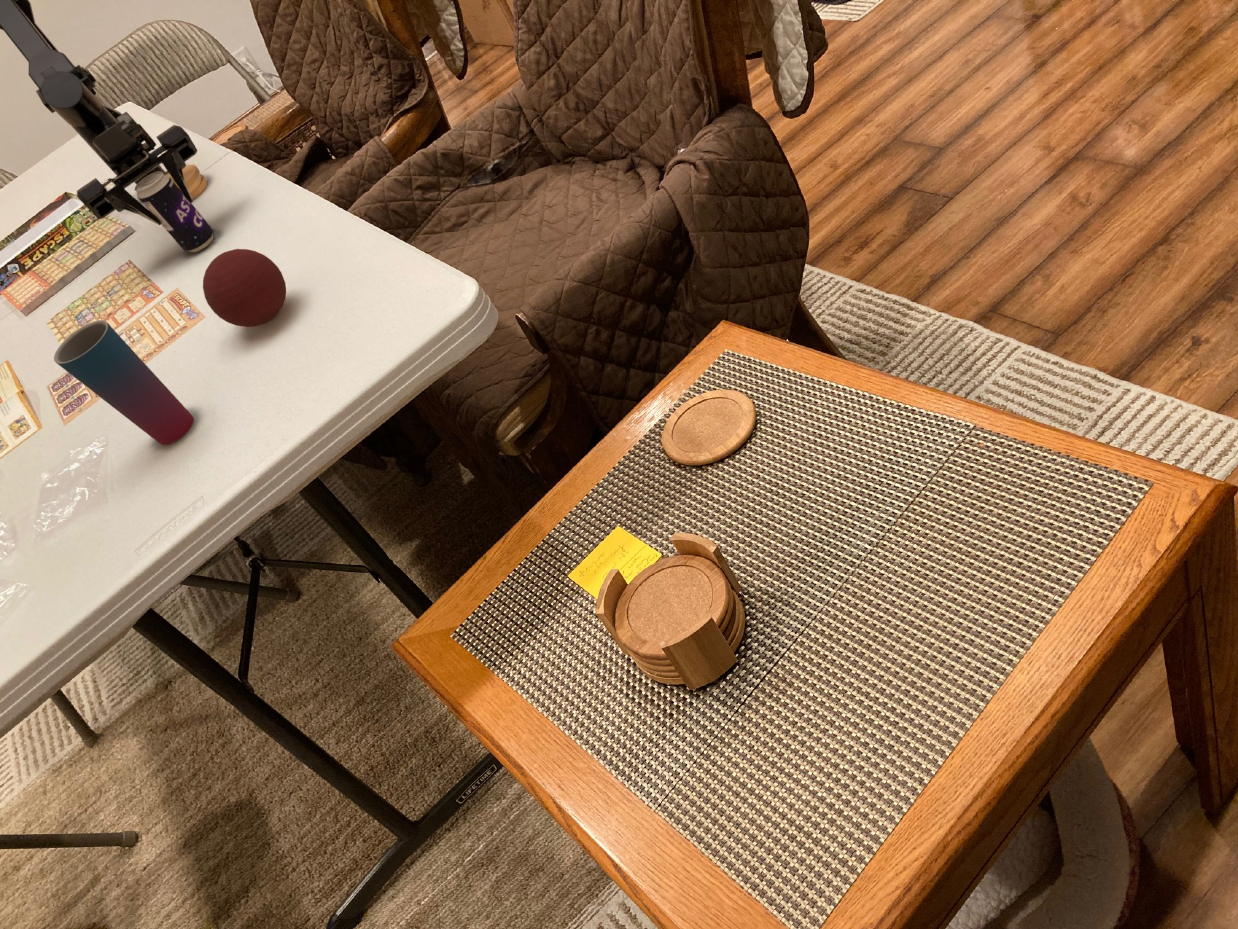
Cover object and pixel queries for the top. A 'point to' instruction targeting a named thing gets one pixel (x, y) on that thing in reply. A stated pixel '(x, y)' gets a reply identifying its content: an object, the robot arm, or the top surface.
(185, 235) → the beverage can
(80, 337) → the cup
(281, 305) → the decorative ball
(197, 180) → the coaster pile
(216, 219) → the top surface
